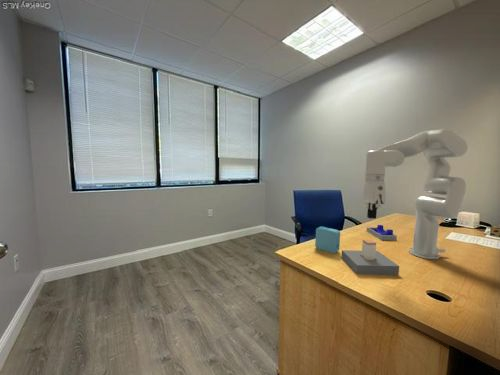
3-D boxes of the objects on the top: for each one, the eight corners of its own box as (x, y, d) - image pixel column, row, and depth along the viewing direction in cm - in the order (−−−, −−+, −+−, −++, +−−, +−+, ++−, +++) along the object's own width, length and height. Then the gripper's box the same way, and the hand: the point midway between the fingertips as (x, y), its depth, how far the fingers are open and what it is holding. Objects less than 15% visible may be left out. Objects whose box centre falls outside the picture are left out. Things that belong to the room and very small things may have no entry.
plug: (369, 263, 101) (371, 239, 100) (374, 267, 97) (376, 242, 96) (361, 263, 101) (362, 239, 100) (365, 267, 97) (367, 242, 96)
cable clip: (374, 233, 148) (375, 224, 148) (381, 233, 148) (381, 224, 148) (385, 239, 136) (386, 230, 136) (392, 239, 136) (393, 230, 136)
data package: (339, 251, 115) (340, 230, 113) (335, 254, 112) (337, 232, 110) (318, 245, 123) (319, 225, 122) (314, 247, 120) (315, 227, 119)
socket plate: (377, 258, 107) (377, 250, 107) (398, 274, 91) (399, 266, 91) (341, 257, 107) (341, 250, 107) (356, 274, 91) (357, 265, 91)
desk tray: (380, 231, 151) (380, 227, 151) (396, 240, 133) (396, 235, 133) (366, 231, 151) (366, 227, 151) (381, 240, 134) (381, 235, 133)
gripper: (393, 179, 87) (390, 222, 89) (373, 177, 102) (370, 214, 104) (375, 179, 87) (372, 222, 89) (357, 177, 102) (355, 214, 104)
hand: (371, 217), depth 97 cm, fingers closed
